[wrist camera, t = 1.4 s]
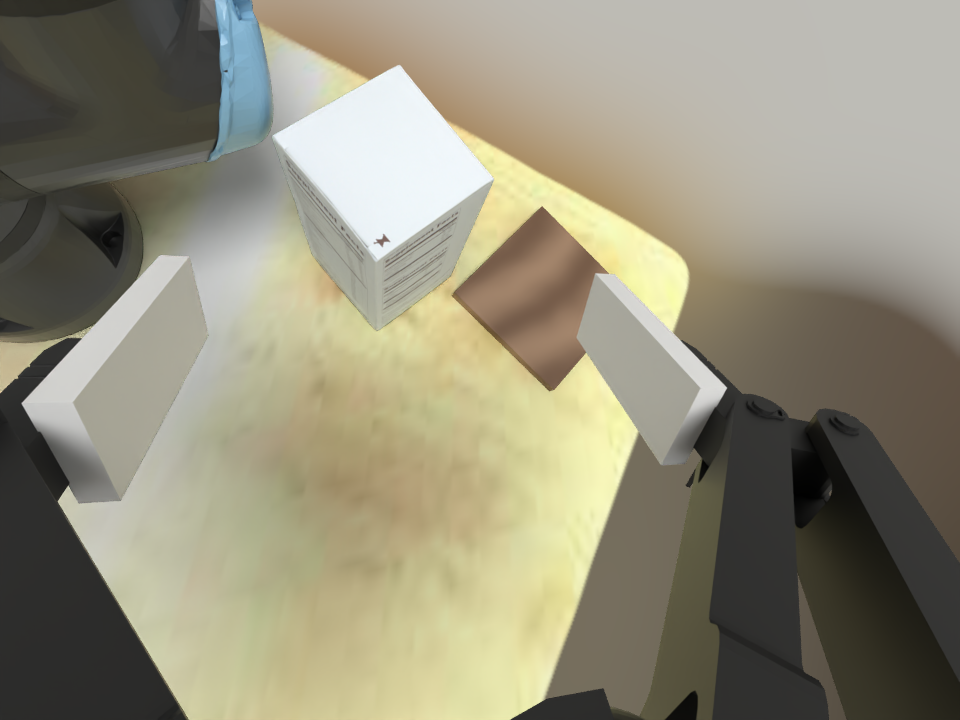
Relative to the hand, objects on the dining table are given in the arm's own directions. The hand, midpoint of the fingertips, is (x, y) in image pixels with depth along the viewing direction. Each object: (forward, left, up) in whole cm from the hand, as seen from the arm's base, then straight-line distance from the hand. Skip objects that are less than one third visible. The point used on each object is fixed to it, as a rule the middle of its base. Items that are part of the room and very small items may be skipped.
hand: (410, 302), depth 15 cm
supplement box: (-8, +8, -26) cm, 28 cm away
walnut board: (+5, +17, -26) cm, 31 cm away
